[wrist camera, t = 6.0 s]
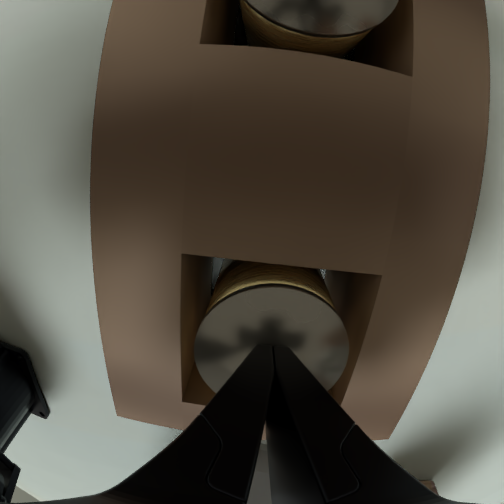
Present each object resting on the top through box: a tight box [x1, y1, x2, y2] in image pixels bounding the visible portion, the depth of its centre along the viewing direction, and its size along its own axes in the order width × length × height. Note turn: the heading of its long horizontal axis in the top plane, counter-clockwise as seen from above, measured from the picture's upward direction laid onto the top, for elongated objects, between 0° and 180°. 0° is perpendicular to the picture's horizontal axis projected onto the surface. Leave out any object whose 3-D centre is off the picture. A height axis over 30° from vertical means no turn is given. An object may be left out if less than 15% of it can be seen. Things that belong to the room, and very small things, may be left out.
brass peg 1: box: [239, 0, 399, 59], centre depth 8 cm, size 4×4×6 cm
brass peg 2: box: [194, 258, 349, 393], centre depth 11 cm, size 4×4×6 cm
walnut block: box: [90, 0, 490, 440], centre depth 10 cm, size 18×10×6 cm, turn 174°
